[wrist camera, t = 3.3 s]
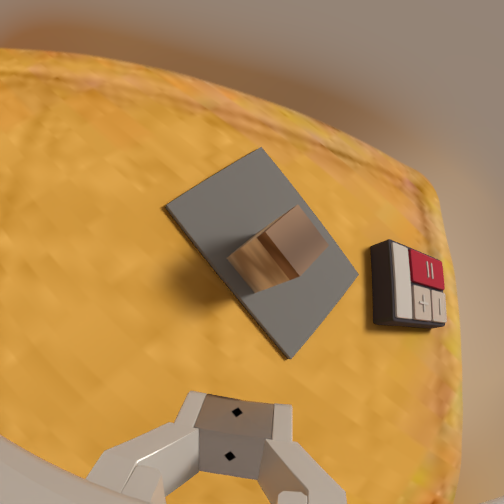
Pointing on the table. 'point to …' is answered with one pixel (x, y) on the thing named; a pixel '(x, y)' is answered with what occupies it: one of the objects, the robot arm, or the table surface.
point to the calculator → (406, 287)
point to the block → (279, 251)
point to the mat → (247, 225)
